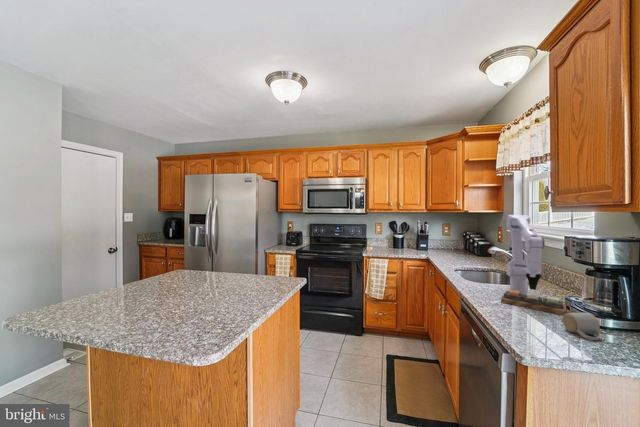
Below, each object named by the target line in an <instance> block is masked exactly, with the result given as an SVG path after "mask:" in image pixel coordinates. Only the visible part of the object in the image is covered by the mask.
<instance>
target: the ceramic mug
mask: <svg viewBox="0 0 640 427" xmlns="http://www.w3.org/2000/svg"><path fill="white" fill-rule="evenodd" d="M561 320H562V324H563V326H564V328H565V330H567V331H568V332H569V333H572V334H578V335H580V336H581V337H582V338H584V339H586V340H589V341H593V340H597V341H598V340H600V337H601V334H600V330H601V329H600V326H601V325H600V322H599V321H598V319H597V317H596V316H595V315H594V314H593V313H590V312H568V313H567V312H566V314H564V315H562V318H561ZM590 335H594V336H595V335H596V337H594V336H590Z"/></svg>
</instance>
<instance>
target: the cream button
mask: <svg viewBox="0 0 640 427" xmlns="http://www.w3.org/2000/svg"><path fill="white" fill-rule="evenodd" d="M539 297H540V295H539V294H537V293H532V292H528V293H527V298H531V299H537V300H538V299H539Z"/></svg>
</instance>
